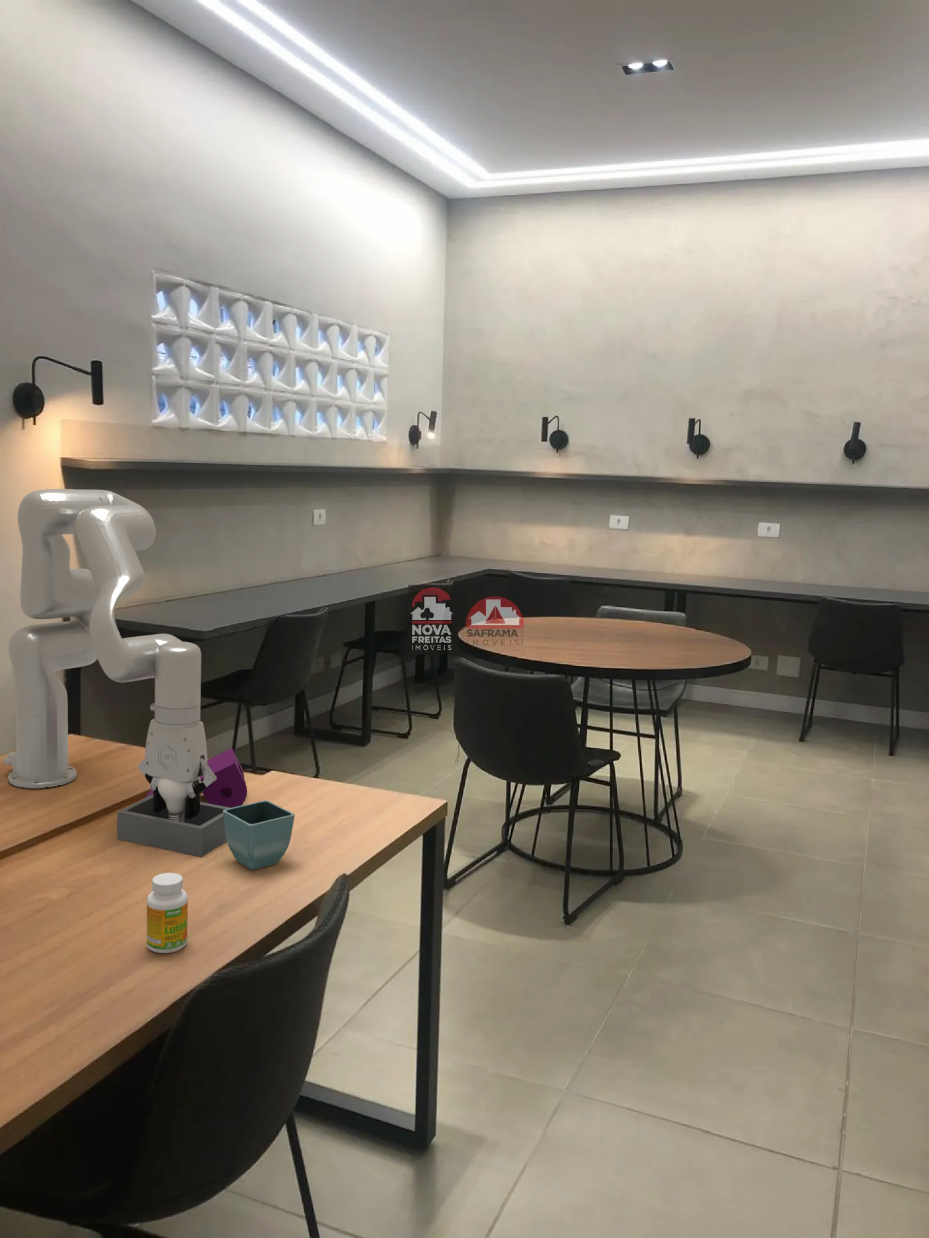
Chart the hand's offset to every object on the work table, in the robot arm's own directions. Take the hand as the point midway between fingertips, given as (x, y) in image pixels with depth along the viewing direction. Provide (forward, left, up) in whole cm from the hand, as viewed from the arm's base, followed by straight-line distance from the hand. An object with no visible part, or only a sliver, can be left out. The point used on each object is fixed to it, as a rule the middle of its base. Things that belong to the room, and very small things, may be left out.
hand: (176, 812), depth 171 cm
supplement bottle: (+21, -32, -5) cm, 39 cm away
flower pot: (+18, -3, -5) cm, 19 cm away
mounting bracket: (-6, +15, -5) cm, 17 cm away
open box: (0, 0, -5) cm, 5 cm away
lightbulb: (0, 0, -3) cm, 3 cm away
